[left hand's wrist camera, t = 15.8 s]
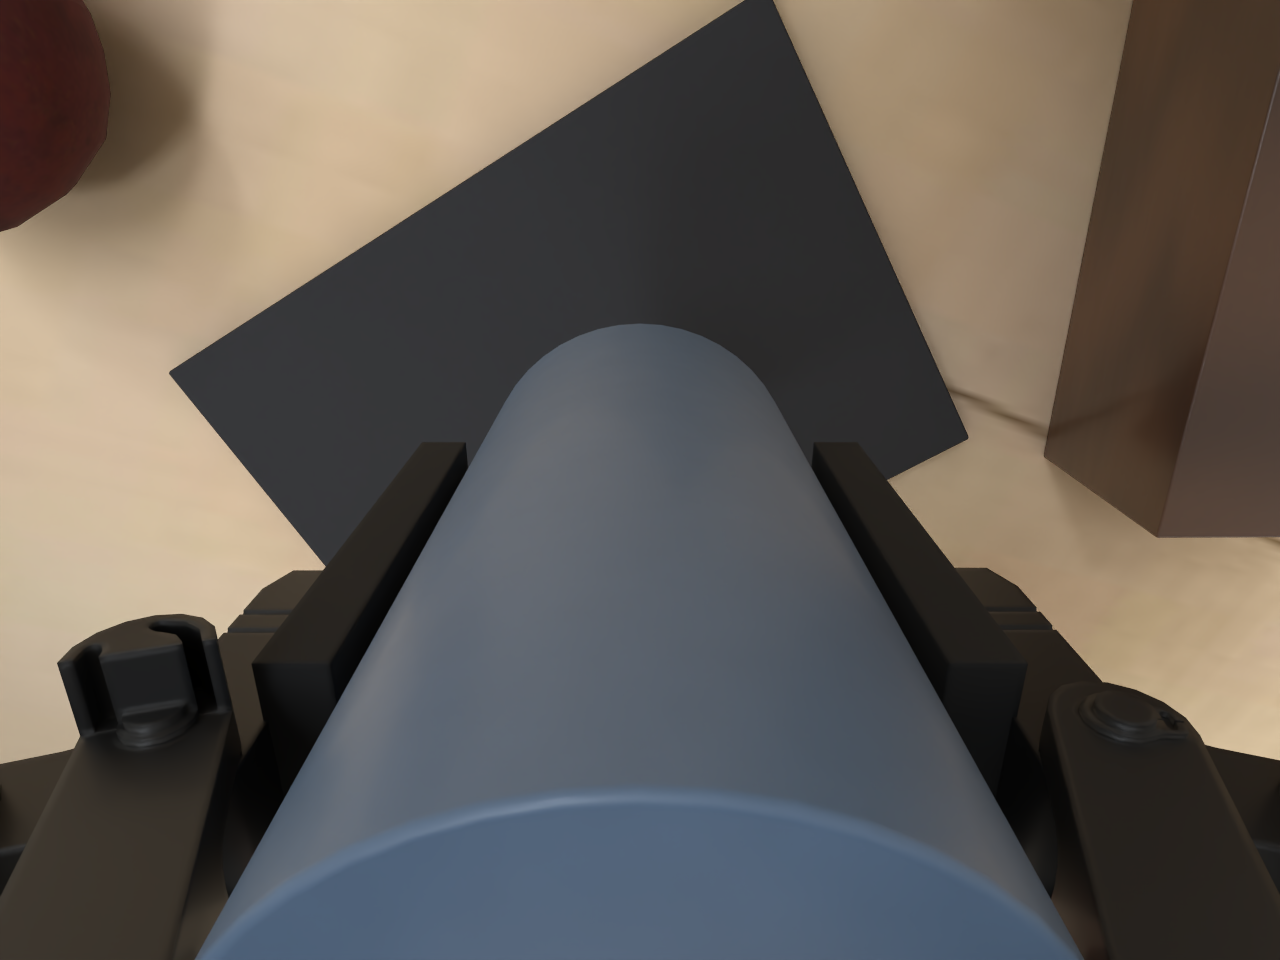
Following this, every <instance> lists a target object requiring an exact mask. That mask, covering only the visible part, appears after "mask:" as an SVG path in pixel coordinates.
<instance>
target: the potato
mask: <svg viewBox="0 0 1280 960" xmlns="http://www.w3.org/2000/svg"><path fill="white" fill-rule="evenodd" d="M109 104H110V87H109V81H108V74H107V68H106V61H105V55H104V50H103V47H102V44H101V42H100V39H99V36H98V33H97V31H96V28H95V25H94V22H93V19H92V17H91V14H90V12H89V10H88V9H87V7H86V5H85V4H84V2H83V0H0V232H1V231H4V230H8V229H11V228H15V227H17V226H19V225H21V224H22V223H24V222H25V221H27V220H28V219H30V218H31V217H33V216H34V215H36V214H37V213H39V212H40V211H42V210H43V209H45V208H46V207H48V206H49V205H51V204H52V203H54V202H56V201H57V200H59V199H60V198H62V197H63V196H65V195H66V194H67V193H68V192H69V191H70V190H71V189H72V188H73V187H74V186H75V185H76V183H77V182H78V180H79V179H80V177H81V176H82V174H83V173H84V171H85V170H86V168H87V167H88V165H89V164H90V162H91V161H92V159H93V158H94V156H95V155H96V153H97V152H98V150H99V148H100V147H101V145H102V144H103V142H104V141H105V139H106V134H107V124H108V114H109Z"/></svg>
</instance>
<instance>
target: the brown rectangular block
mask: <svg viewBox="0 0 1280 960" xmlns="http://www.w3.org/2000/svg"><path fill="white" fill-rule="evenodd" d="M1044 457H1045V458H1047V459H1048V460H1050V461H1051V462H1052V463H1054V464H1055V465H1056V466H1058V467H1059V468H1061V469H1062V470H1063V471H1065V472H1066V473H1068V474H1069V475H1070V476H1072V477H1073V478H1075V479H1076V480H1077V481H1079V482H1080V483H1082V484H1083V485H1084V486H1086V487H1087V488H1089V489H1090V490H1091V491H1093V492H1094V493H1096V494H1097V495H1098V496H1100V497H1101V498H1102V499H1104V500H1105V501H1107V502H1108V503H1109V504H1111V505H1112V506H1114V507H1115V508H1116V509H1118V510H1119V511H1121V512H1122V513H1123V514H1125V515H1126V516H1128V517H1129V518H1130V519H1132V520H1133V521H1135V522H1136V523H1137V524H1139V525H1140V526H1142V527H1143V528H1144V529H1146V530H1147V531H1148V532H1150V533H1151V534H1153V535H1154V536H1155V537H1158V538H1180V537H1280V0H1134V1H1133V7H1132V12H1131V17H1130V22H1129V27H1128V32H1127V37H1126V42H1125V47H1124V52H1123V57H1122V62H1121V68H1120V73H1119V78H1118V83H1117V88H1116V93H1115V98H1114V103H1113V108H1112V113H1111V118H1110V123H1109V129H1108V134H1107V139H1106V144H1105V149H1104V154H1103V159H1102V164H1101V169H1100V174H1099V179H1098V184H1097V189H1096V195H1095V200H1094V205H1093V210H1092V215H1091V220H1090V225H1089V230H1088V235H1087V240H1086V245H1085V250H1084V256H1083V261H1082V266H1081V271H1080V276H1079V281H1078V286H1077V291H1076V296H1075V301H1074V306H1073V311H1072V317H1071V322H1070V327H1069V332H1068V337H1067V342H1066V347H1065V352H1064V357H1063V362H1062V367H1061V372H1060V378H1059V383H1058V388H1057V393H1056V398H1055V403H1054V408H1053V413H1052V418H1051V423H1050V428H1049V433H1048V438H1047V444H1046V449H1045V454H1044Z"/></svg>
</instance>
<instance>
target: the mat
mask: <svg viewBox="0 0 1280 960" xmlns="http://www.w3.org/2000/svg"><path fill="white" fill-rule="evenodd" d="M626 324H654V325H664V326H669V327H674V328H679V329H683V330H686V331H689V332H692V333H694V334H697V335H700V336H703V337H705V338H707V339H709V340H711V341H713V342H715V343H717V344H719V345H720V346H722V347H723V348H725V349H726V350H728V351H729V352H731V353H732V354H734V355H735V356H737V357H738V358H739V359H740V360H741V361H742V362H743V363H744V364H746V365H747V366H748V367H749V368H750V369H751V370H752V371H753V372H754V373H755V375H756V376H757V377H758V378H759V379H760V381H761V382H762V383H763V384H764V385H765V387H766V389H767V390H768V392H769V393H770V395H771V397H772V398H773V400H774V401H775V403H776V405H777V407H778V409H779V410H780V412H781V414H782V416H783V418H784V419H785V421H786V423H787V425H788V427H789V428H790V430H791V432H792V434H793V436H794V437H795V439H796V441H797V443H798V445H799V446H800V448H801V450H802V452H803V454H804V455H805V457H806V459H807V461H808V463H809V464H810V466H811V467H812V456H813V444H814V442H858V444H859V445H860V446H861V447H862V449H863V450H864V451H865V453H866V454H867V455H868V457H869V458H870V459H871V460H872V462H873V463H874V464H875V466H876V467H877V468H878V470H879V471H880V472H881V473H882V475H883V476H884V477H885V479H886V480H888V479H890V478H892V477H894V476H896V475H898V474H900V473H902V472H904V471H906V470H908V469H910V468H911V467H913V466H915V465H917V464H919V463H921V462H923V461H925V460H927V459H929V458H931V457H933V456H935V455H937V454H939V453H941V452H943V451H945V450H947V449H949V448H951V447H953V446H955V445H957V444H959V443H961V442H963V441H965V440H967V439H968V435H967V432H966V430H965V428H964V426H963V423H962V421H961V419H960V417H959V415H958V412H957V410H956V408H955V406H954V403H953V401H952V399H951V397H950V394H949V392H948V390H947V388H946V386H945V383H944V381H943V379H942V377H941V374H940V372H939V370H938V368H937V365H936V363H935V361H934V359H933V357H932V354H931V352H930V350H929V348H928V345H927V343H926V341H925V339H924V336H923V334H922V332H921V330H920V328H919V325H918V323H917V321H916V319H915V316H914V314H913V312H912V310H911V307H910V305H909V303H908V301H907V299H906V296H905V294H904V292H903V290H902V287H901V285H900V283H899V281H898V278H897V276H896V274H895V272H894V270H893V267H892V265H891V263H890V261H889V258H888V256H887V254H886V252H885V249H884V247H883V245H882V243H881V241H880V238H879V236H878V234H877V232H876V229H875V227H874V225H873V223H872V220H871V218H870V216H869V214H868V212H867V209H866V207H865V205H864V203H863V200H862V198H861V196H860V194H859V191H858V189H857V187H856V185H855V183H854V180H853V178H852V176H851V174H850V171H849V169H848V167H847V165H846V162H845V160H844V158H843V156H842V154H841V151H840V149H839V147H838V145H837V142H836V140H835V138H834V136H833V133H832V131H831V129H830V127H829V125H828V122H827V120H826V118H825V116H824V113H823V111H822V109H821V107H820V104H819V102H818V100H817V98H816V96H815V93H814V91H813V89H812V87H811V84H810V82H809V80H808V78H807V75H806V73H805V71H804V69H803V67H802V64H801V62H800V60H799V58H798V55H797V53H796V51H795V49H794V46H793V44H792V42H791V40H790V38H789V35H788V33H787V31H786V29H785V26H784V24H783V22H782V20H781V17H780V15H779V13H778V11H777V9H776V6H775V4H774V2H773V0H744V1H743V2H741V3H740V4H738V5H737V6H735V7H734V8H732V9H730V10H729V11H727V12H726V13H724V14H723V15H721V16H720V17H718V18H717V19H715V20H713V21H712V22H710V23H709V24H707V25H706V26H704V27H703V28H701V29H699V30H698V31H696V32H695V33H693V34H692V35H690V36H689V37H687V38H686V39H684V40H682V41H681V42H679V43H678V44H676V45H675V46H673V47H672V48H670V49H669V50H667V51H665V52H664V53H662V54H661V55H659V56H658V57H656V58H655V59H653V60H651V61H650V62H648V63H647V64H645V65H644V66H642V67H641V68H639V69H638V70H636V71H634V72H633V73H631V74H630V75H628V76H627V77H625V78H624V79H622V80H620V81H619V82H617V83H616V84H614V85H613V86H611V87H610V88H608V89H607V90H605V91H603V92H602V93H600V94H599V95H597V96H596V97H594V98H593V99H591V100H589V101H588V102H586V103H585V104H583V105H582V106H580V107H579V108H577V109H576V110H574V111H572V112H571V113H569V114H568V115H566V116H565V117H563V118H562V119H560V120H558V121H557V122H555V123H554V124H552V125H551V126H549V127H548V128H546V129H545V130H543V131H541V132H540V133H538V134H537V135H535V136H534V137H532V138H531V139H529V140H528V141H526V142H524V143H523V144H521V145H520V146H518V147H517V148H515V149H514V150H512V151H510V152H509V153H507V154H506V155H504V156H503V157H501V158H500V159H498V160H497V161H495V162H493V163H492V164H490V165H489V166H487V167H486V168H484V169H483V170H481V171H479V172H478V173H476V174H475V175H473V176H472V177H470V178H469V179H467V180H466V181H464V182H462V183H461V184H459V185H458V186H456V187H455V188H453V189H452V190H450V191H448V192H447V193H445V194H444V195H442V196H441V197H439V198H438V199H436V200H435V201H433V202H431V203H430V204H428V205H427V206H425V207H424V208H422V209H421V210H419V211H418V212H416V213H414V214H413V215H411V216H410V217H408V218H407V219H405V220H404V221H402V222H400V223H399V224H397V225H396V226H394V227H393V228H391V229H390V230H388V231H387V232H385V233H383V234H382V235H380V236H379V237H377V238H376V239H374V240H373V241H371V242H369V243H368V244H366V245H365V246H363V247H362V248H360V249H359V250H357V251H356V252H354V253H352V254H351V255H349V256H348V257H346V258H345V259H343V260H342V261H340V262H338V263H337V264H335V265H334V266H332V267H331V268H329V269H328V270H326V271H325V272H323V273H321V274H320V275H318V276H317V277H315V278H314V279H312V280H311V281H309V282H308V283H306V284H304V285H303V286H301V287H300V288H298V289H297V290H295V291H294V292H292V293H290V294H289V295H287V296H286V297H284V298H283V299H281V300H280V301H278V302H277V303H275V304H273V305H272V306H270V307H269V308H267V309H266V310H264V311H263V312H261V313H259V314H258V315H256V316H255V317H253V318H252V319H250V320H249V321H247V322H246V323H244V324H242V325H241V326H239V327H238V328H236V329H235V330H233V331H232V332H230V333H228V334H227V335H225V336H224V337H222V338H221V339H219V340H218V341H216V342H215V343H213V344H211V345H210V346H208V347H207V348H205V349H204V350H202V351H201V352H199V353H197V354H196V355H194V356H193V357H191V358H190V359H188V360H187V361H185V362H184V363H182V364H180V365H179V366H177V367H176V368H174V369H173V370H171V371H170V372H169V374H170V375H171V377H172V378H173V379H174V380H175V382H176V383H177V384H178V385H179V387H180V388H181V389H182V390H183V391H184V393H185V394H186V395H187V396H188V398H189V399H190V400H191V401H192V403H193V404H194V405H195V406H196V407H197V409H198V410H199V411H200V412H201V414H202V415H203V416H204V417H205V419H206V420H207V421H208V422H209V423H210V425H211V426H212V427H213V428H214V430H215V431H216V432H217V433H218V434H219V436H220V437H221V438H222V439H223V441H224V442H225V443H226V444H227V446H228V447H229V448H230V449H231V450H232V452H233V453H234V454H235V455H236V457H237V458H238V459H239V460H240V462H241V463H242V464H243V465H244V466H245V468H246V469H247V470H248V471H249V473H250V474H251V475H252V476H253V478H254V479H255V480H256V481H257V482H258V484H259V485H260V486H261V487H262V489H263V490H264V491H265V492H266V494H267V495H268V496H269V497H270V498H271V500H272V501H273V502H274V503H275V505H276V506H277V507H278V508H279V510H280V511H281V512H282V513H283V514H284V516H285V517H286V518H287V519H288V521H289V522H290V523H291V524H292V525H293V527H294V528H295V529H296V530H297V532H298V533H299V534H300V535H301V537H302V538H303V539H304V540H305V541H306V543H307V544H308V545H309V546H310V548H311V549H312V550H313V551H314V553H315V554H316V555H317V556H318V557H319V559H320V560H321V561H322V562H323V564H324V565H325V566H327V565H328V563H329V562H330V561H331V560H332V558H333V557H334V556H335V554H336V553H337V552H338V550H339V549H340V548H341V547H342V545H343V544H344V543H345V541H346V540H347V539H348V538H349V536H350V535H351V534H352V532H353V531H354V530H355V528H356V527H357V526H358V525H359V523H360V522H361V521H362V519H363V518H364V517H365V516H366V514H367V513H368V512H369V510H370V509H371V508H372V506H373V505H374V504H375V503H376V501H377V500H378V499H379V497H380V496H381V495H382V493H383V492H384V491H385V490H386V488H387V487H388V486H389V484H390V483H391V482H392V481H393V479H394V478H395V477H396V475H397V474H398V473H399V471H400V470H401V469H402V468H403V466H404V465H405V464H406V462H407V461H408V460H409V458H410V457H411V456H412V455H413V453H414V452H415V451H416V449H417V448H418V447H419V446H420V444H421V443H422V442H466V450H467V461H468V468H469V466H470V464H471V462H472V461H473V459H474V457H475V455H476V453H477V452H478V450H479V448H480V446H481V444H482V443H483V441H484V439H485V437H486V435H487V434H488V432H489V430H490V428H491V426H492V425H493V423H494V421H495V419H496V417H497V416H498V414H499V412H500V410H501V408H502V407H503V405H504V403H505V401H506V400H507V398H508V397H509V395H510V393H511V392H512V390H513V389H514V387H515V385H516V384H517V383H518V382H519V381H520V379H521V378H522V377H523V376H524V375H525V373H526V372H527V371H528V370H529V369H530V368H531V367H532V366H533V365H534V364H536V363H537V362H538V361H539V360H540V359H541V358H542V357H543V356H545V355H546V354H548V353H549V352H551V351H552V350H554V349H555V348H557V347H558V346H559V345H561V344H563V343H565V342H567V341H569V340H571V339H573V338H575V337H577V336H580V335H583V334H585V333H588V332H591V331H594V330H597V329H601V328H606V327H611V326H616V325H626Z"/></svg>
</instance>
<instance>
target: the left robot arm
mask: <svg viewBox="0 0 1280 960" xmlns="http://www.w3.org/2000/svg"><path fill="white" fill-rule="evenodd" d="M811 468H812V470H813V472H814V473H815V475H816V477H817V479H818V481H819V482H820V484H821V486H822V488H823V490H824V491H825V493H826V495H827V497H828V499H829V500H830V502H831V504H832V506H833V508H834V509H835V511H836V513H837V515H838V517H839V518H840V520H841V522H842V524H843V526H844V527H845V529H846V531H847V533H848V535H849V536H850V538H851V540H852V542H853V544H854V545H855V547H856V549H857V551H858V553H859V555H860V556H861V558H862V560H863V562H864V564H865V565H866V567H867V569H868V571H869V573H870V574H871V576H872V578H873V580H874V582H875V583H876V585H877V587H878V589H879V591H880V592H881V594H882V596H883V598H884V600H885V601H886V603H887V605H888V607H889V609H890V610H891V612H892V614H893V616H894V618H895V619H896V621H897V623H898V625H899V627H900V628H901V630H902V632H903V634H904V636H905V637H906V639H907V641H908V643H909V645H910V646H911V648H912V650H913V652H914V654H915V655H916V657H917V659H918V661H919V663H920V664H921V666H922V668H923V670H924V672H925V673H926V675H927V677H928V679H929V681H930V682H931V684H932V686H933V688H934V690H935V691H936V693H937V695H938V697H939V699H940V700H941V702H942V704H943V706H944V708H945V709H946V711H947V713H948V715H949V717H950V718H951V720H952V722H953V724H954V726H955V727H956V729H957V731H958V733H959V735H960V736H961V738H962V740H963V742H964V744H965V745H966V747H967V749H968V751H969V753H970V754H971V756H972V758H973V760H974V762H975V763H976V765H977V767H978V769H979V771H980V772H981V774H982V776H983V778H984V780H985V781H986V783H987V785H988V787H989V789H990V791H991V792H992V794H993V796H994V798H995V800H996V801H997V803H998V805H999V807H1000V809H1001V810H1002V812H1003V814H1004V816H1005V818H1006V819H1007V821H1008V823H1009V825H1010V827H1011V828H1012V830H1013V832H1014V834H1015V836H1016V837H1017V839H1018V841H1019V843H1020V845H1021V846H1022V848H1023V850H1024V852H1025V854H1026V855H1027V857H1028V859H1029V861H1030V863H1031V864H1032V866H1033V868H1034V870H1035V872H1036V873H1037V875H1038V877H1039V879H1040V881H1041V882H1042V884H1043V886H1044V888H1045V890H1046V891H1047V893H1048V895H1049V897H1050V899H1051V900H1052V902H1053V904H1054V906H1055V908H1056V909H1057V911H1058V913H1059V915H1060V917H1061V918H1062V920H1063V922H1064V924H1065V926H1066V927H1067V929H1068V931H1069V933H1070V935H1071V936H1072V938H1073V940H1074V942H1075V944H1076V945H1077V947H1078V949H1079V951H1080V953H1081V954H1082V956H1083V958H1084V960H1280V760H1275V759H1270V758H1265V757H1259V756H1254V755H1249V754H1244V753H1239V752H1234V751H1229V750H1224V749H1219V748H1215V747H1211V746H1207V745H1205V744H1204V742H1203V740H1202V738H1201V736H1200V735H1199V734H1198V732H1197V731H1196V730H1195V729H1194V727H1193V726H1192V725H1191V724H1190V722H1189V721H1188V720H1187V719H1186V718H1185V717H1184V716H1182V715H1181V714H1180V713H1178V712H1177V711H1175V710H1174V709H1172V708H1171V707H1170V706H1168V705H1167V704H1165V703H1164V702H1162V701H1160V700H1157V699H1155V698H1153V697H1151V696H1149V695H1146V694H1144V693H1142V692H1140V691H1137V690H1134V689H1131V688H1127V687H1123V686H1119V685H1115V684H1111V683H1106V682H1102V681H1101V680H1100V679H1099V678H1098V676H1097V675H1096V674H1095V673H1094V672H1093V671H1092V670H1091V668H1090V667H1089V666H1088V665H1087V664H1086V663H1085V662H1084V661H1083V659H1082V658H1081V657H1080V656H1079V655H1078V654H1077V653H1076V652H1075V650H1074V649H1073V648H1072V647H1071V646H1070V645H1069V644H1068V643H1067V641H1066V640H1065V639H1064V638H1063V637H1062V636H1061V635H1060V634H1059V632H1058V631H1057V630H1053V629H1052V624H1051V623H1050V622H1049V621H1048V620H1047V619H1046V618H1045V617H1044V615H1043V614H1042V613H1041V612H1037V610H1036V606H1035V605H1034V604H1033V603H1032V602H1031V601H1030V600H1029V599H1028V597H1027V596H1026V595H1025V594H1024V593H1023V592H1022V591H1021V590H1020V588H1019V587H1018V586H1016V585H1015V584H1013V583H1011V582H1010V581H1008V580H1006V579H1004V578H1003V577H1001V576H999V575H998V574H996V573H994V572H993V571H991V570H989V569H988V568H954V567H953V565H952V564H951V563H950V562H949V560H948V559H947V558H946V556H945V555H944V554H943V552H942V551H941V550H940V549H939V547H938V546H937V545H936V543H935V542H934V541H933V540H932V538H931V537H930V536H929V534H928V533H927V532H926V530H925V529H924V528H923V527H922V525H921V524H920V523H919V521H918V520H917V519H916V517H915V516H914V515H913V514H912V512H911V511H910V510H909V508H908V507H907V506H906V505H905V503H904V502H903V501H902V499H901V498H900V497H899V495H898V494H897V493H896V492H895V490H894V489H893V488H892V486H891V485H890V484H889V482H888V481H887V480H886V479H885V477H884V476H883V475H882V473H881V472H880V471H879V470H878V468H877V467H876V466H875V464H874V463H873V462H872V460H871V459H870V458H869V457H868V455H867V454H866V453H865V451H864V450H863V449H862V447H861V446H860V445H859V444H858V442H814V444H813V456H812V467H811ZM467 470H468V461H467V450H466V442H422V443H421V444H420V446H419V447H418V448H417V449H416V451H415V452H414V453H413V455H412V456H411V457H410V458H409V460H408V461H407V462H406V464H405V465H404V466H403V468H402V469H401V470H400V471H399V473H398V474H397V475H396V477H395V478H394V479H393V481H392V482H391V483H390V484H389V486H388V487H387V488H386V490H385V491H384V492H383V493H382V495H381V496H380V497H379V499H378V500H377V501H376V503H375V504H374V505H373V506H372V508H371V509H370V510H369V512H368V513H367V514H366V516H365V517H364V518H363V519H362V521H361V522H360V523H359V525H358V526H357V527H356V528H355V530H354V531H353V532H352V534H351V535H350V536H349V538H348V539H347V540H346V541H345V543H344V544H343V545H342V547H341V548H340V549H339V550H338V552H337V553H336V554H335V556H334V557H333V558H332V560H331V561H330V562H329V563H328V565H327V566H326V567H325V569H324V570H323V571H292V572H290V573H288V574H287V575H285V576H283V577H282V578H280V579H278V580H277V581H275V582H273V583H272V584H270V585H268V586H267V587H265V588H263V589H262V590H261V591H260V592H259V593H258V595H257V596H256V597H255V598H254V599H253V600H252V601H251V603H250V604H249V605H248V606H247V607H246V608H245V609H244V613H243V615H239V616H238V617H237V618H236V620H235V621H234V622H233V623H232V624H231V625H230V626H229V628H228V633H223V634H222V635H221V637H220V638H219V639H217V635H216V630H215V626H213V625H212V624H211V623H209V622H208V621H206V620H205V619H204V618H201V617H196V616H190V615H185V614H172V615H155V616H150V617H146V618H141V619H137V620H132V621H128V622H124V623H121V624H119V625H116V626H114V627H111V628H108V629H106V630H103V631H100V632H98V633H96V634H94V635H92V636H91V637H89V638H87V639H86V640H84V641H82V642H81V643H79V644H77V645H76V646H74V647H72V648H71V649H70V650H69V651H68V652H67V653H66V654H65V656H64V657H63V658H62V659H61V660H60V661H59V662H58V663H57V664H58V667H59V671H60V674H61V677H62V680H63V683H64V686H65V689H66V693H67V696H68V699H69V702H70V705H71V708H72V711H73V714H74V718H75V721H76V724H77V727H78V730H79V733H80V738H79V740H78V742H77V744H76V746H75V748H74V749H71V750H67V751H64V752H59V753H54V754H49V755H44V756H39V757H34V758H29V759H24V760H19V761H14V762H9V763H4V764H0V960H195V958H196V956H197V954H198V953H199V951H200V949H201V947H202V945H203V944H204V942H205V940H206V938H207V937H208V935H209V933H210V931H211V929H212V928H213V926H214V924H215V922H216V920H217V919H218V917H219V915H220V913H221V911H222V910H223V908H224V906H225V904H226V902H227V901H228V899H229V897H230V895H231V893H232V892H233V890H234V888H235V886H236V884H237V883H238V881H239V879H240V877H241V875H242V874H243V872H244V870H245V868H246V866H247V865H248V863H249V861H250V859H251V857H252V856H253V854H254V852H255V850H256V849H257V847H258V845H259V843H260V841H261V840H262V838H263V836H264V834H265V832H266V831H267V829H268V827H269V825H270V823H271V822H272V820H273V818H274V816H275V814H276V813H277V811H278V809H279V807H280V805H281V804H282V802H283V800H284V798H285V796H286V795H287V793H288V791H289V789H290V787H291V786H292V784H293V782H294V780H295V778H296V777H297V775H298V773H299V771H300V769H301V768H302V766H303V764H304V762H305V760H306V759H307V757H308V755H309V753H310V752H311V750H312V748H313V746H314V744H315V743H316V741H317V739H318V737H319V735H320V734H321V732H322V730H323V728H324V726H325V725H326V723H327V721H328V719H329V717H330V716H331V714H332V712H333V710H334V708H335V707H336V705H337V703H338V701H339V699H340V698H341V696H342V694H343V692H344V690H345V689H346V687H347V685H348V683H349V681H350V680H351V678H352V676H353V674H354V672H355V671H356V669H357V667H358V665H359V664H360V662H361V660H362V658H363V656H364V655H365V653H366V651H367V649H368V647H369V646H370V644H371V642H372V640H373V638H374V637H375V635H376V633H377V631H378V629H379V628H380V626H381V624H382V622H383V620H384V619H385V617H386V615H387V613H388V611H389V610H390V608H391V606H392V604H393V602H394V601H395V599H396V597H397V595H398V593H399V592H400V590H401V588H402V586H403V584H404V583H405V581H406V579H407V577H408V576H409V574H410V572H411V570H412V568H413V567H414V565H415V563H416V561H417V559H418V558H419V556H420V554H421V552H422V550H423V549H424V547H425V545H426V543H427V541H428V540H429V538H430V536H431V534H432V532H433V531H434V529H435V527H436V525H437V523H438V522H439V520H440V518H441V516H442V514H443V513H444V511H445V509H446V507H447V505H448V504H449V502H450V500H451V498H452V496H453V495H454V493H455V491H456V489H457V488H458V486H459V484H460V482H461V480H462V479H463V477H464V475H465V473H466V471H467Z"/></svg>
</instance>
